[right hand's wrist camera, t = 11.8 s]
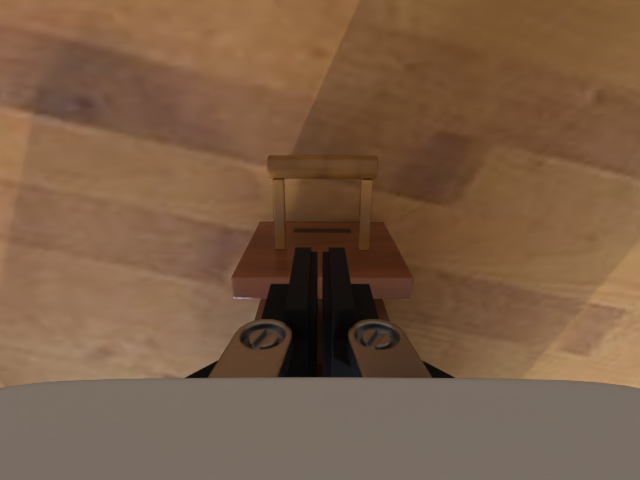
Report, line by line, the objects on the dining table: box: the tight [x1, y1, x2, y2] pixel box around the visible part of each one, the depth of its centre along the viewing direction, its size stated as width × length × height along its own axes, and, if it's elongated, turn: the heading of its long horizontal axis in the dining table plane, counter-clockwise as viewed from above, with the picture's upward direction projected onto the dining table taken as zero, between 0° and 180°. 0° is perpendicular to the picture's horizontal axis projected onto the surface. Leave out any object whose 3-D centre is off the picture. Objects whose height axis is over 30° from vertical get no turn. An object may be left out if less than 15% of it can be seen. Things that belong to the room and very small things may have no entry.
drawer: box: [231, 155, 413, 377], centre depth 23 cm, size 18×9×9 cm, turn 0°
